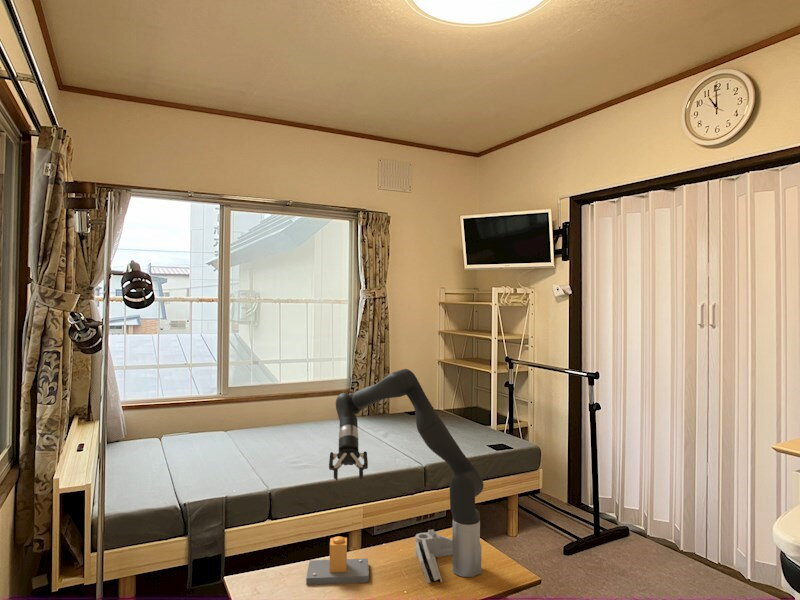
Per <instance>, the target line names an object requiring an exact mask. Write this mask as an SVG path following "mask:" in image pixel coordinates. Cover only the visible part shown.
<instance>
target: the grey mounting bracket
mask: <svg viewBox="0 0 800 600" xmlns="http://www.w3.org/2000/svg"><path fill="white" fill-rule="evenodd" d="M414 536H415V537H414V538H415V539H414V540H415V543H417V542H420V543H421V541H422V540H426V543H427V546H428V548H429V551H430V553H432V554H434V556H435V558H440V557H445V556H446V557H447V555H448V556H452V545H453V538H450V537H447V536H443V535H440V534H438V533H437V532H436V531H435V529H433V528H432V529H428V531H427V532H419V533H416V534H415V535H414ZM415 543H414V547H415V548H414V549H415V551H414V552H415V555H414V556H415V557H417V559H419V557H418V553H417V550H416V544H415ZM421 546H422V544H421ZM422 549H423V548H422Z"/></svg>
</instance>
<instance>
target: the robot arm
mask: <svg viewBox="0 0 800 600" xmlns="http://www.w3.org/2000/svg"><path fill="white" fill-rule="evenodd" d="M404 396H406V397H407V398H408V400H409V401H410V403H411V404H412V406H413V409H414V414H415V423H416V429H417V432H418V433H419V435H420V437H421V439H422V440H423V442H424V443H425V445H426V446H427V448H429V450H431V451H432V452H433V453H434V454H435V455H436V456H438V457H440V459H442V460H443V461H444V462H445V463H446V464H447V465H448V467H449V468H450V469H451V471H452V472H453V473H454V476H453V477H452V478H451V480H450V482H449V483H450V484H449V507H450V512H451V514H452V539H453V545H452V555H451V556H452V557H451V559H452V563H451V564H452V568H451V569H452V572H453V573H454V574H456V575H457V576H459V577H464V578H473V577H476V576H478V575H482V544H481V529H480V528H481V513H480V510H478V509H477V508H476V497H478V495H480V494H481V493H482V492H483V490H484V481H483V477H482V475H481V474H480V472H479V471H478V470H477V469H476V467H475V466H474V465H473V464H472V463H471V461H470V460H469V459H468V457H466V455H465V453H464V452H463V451H462V449H461V448H460V446H459V445H458V444H457V442H456V440H455V439H454V437H453V436H452V434H451V433H450V431H449V429H448V428H447V426H446V425H445V423H444V421H443V420H442V418H441V417H440V416H439V414H438V413H437V412H436V410H435V408H434V406H433V404H432V403H431V401H429V399H428V397H427V395H426V394H425V392H424V389H423V388H422V386H421V384H420V382H419V380H418V378H417V376H416V375H415V374H414V372H413V371H412V370H410V369H407V368H402V369H400V370H396V371H394V372H391V373H389V374H388V375H387V376H385V377H384V378H383V379H381V380H380V381H379V382H377V383H375V384H373V385H369V386H366V387H363V388H362V389H359V390H357V391H355V392H354V393H353V394H352V395H351V394H349V393H347V392H342V393H340V394H339V395H337V397H336V400H335V410H336V413H337V417H338V420H339V431H338V452H337V453H334V452H332V451H331V452H330V453H329V462H328V469H329V471H333V479H334V480H335V482H337V481H338V478H339V469H340V468H341V467H342V466H343V465H344V466H353V465H354V466H355V467H356V468H358V475H359V476H358V480H359V481H362V479H363V478H364V470H368V468H369V461H368V452H367V451H363V452H360V451H359V432H358V431H359V430H358V426H359V425H358V418H357V417H358V416H356V415H358V414H359V413H360V412H361V411H362V410H364V409H365V408H367V407H369V406H371V405H374V404H376V403H377V402H379V401H382V400H386V399H392V398H393V399H394V398H395V399H396V398H402V397H404ZM336 458H337V461H336V463H335V464H334V461H335V460H336ZM360 458H361V459H362V460H363V463H361V461H360Z"/></svg>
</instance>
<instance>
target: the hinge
mask: <svg viewBox="0 0 800 600" xmlns="http://www.w3.org/2000/svg"><path fill="white" fill-rule="evenodd" d="M415 544H416V550H417V553H418V557H419V558H418V557H417V558H418V560H419V564H420V567H421V570H422V573H423V575H424V578H425V581H426V583H427V584H431V583H432V581H434V582H435V581H438V580H440V583H443V580H442V576H441V573H440V570H439V566H438V562H437V559H436V557H435V556H434V554H432V553H430V551H429V548H428V546H427V543H426V540H422V541H421V543H420V542H417V543H414V545H415ZM421 544H422V546H421ZM422 548H423V549H422Z"/></svg>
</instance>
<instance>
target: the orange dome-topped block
mask: <svg viewBox="0 0 800 600" xmlns="http://www.w3.org/2000/svg"><path fill="white" fill-rule="evenodd" d="M347 559H348V537H344V536H339V535H338V536H334V537H330V540H329V560H330V572H346V570H347Z"/></svg>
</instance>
